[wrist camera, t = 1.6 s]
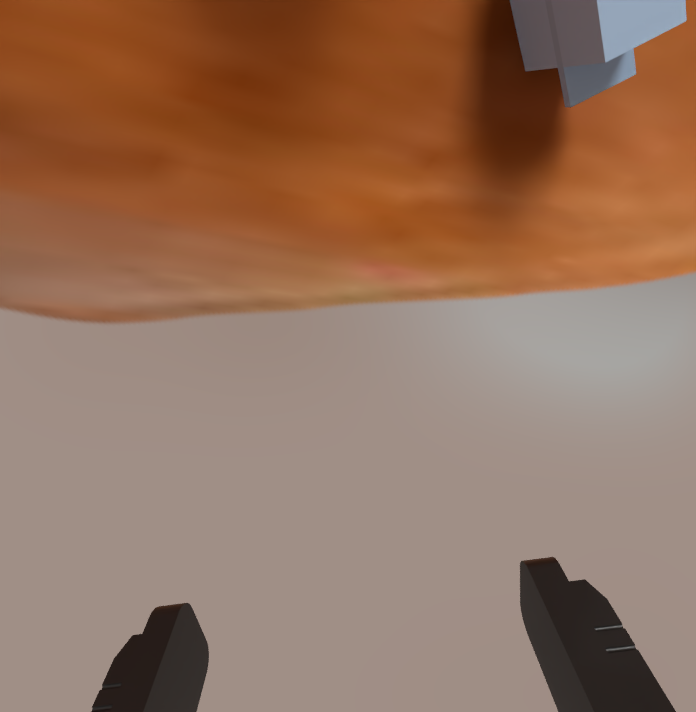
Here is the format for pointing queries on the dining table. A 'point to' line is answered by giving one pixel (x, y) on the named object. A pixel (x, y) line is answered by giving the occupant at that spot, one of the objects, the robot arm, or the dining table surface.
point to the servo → (590, 38)
